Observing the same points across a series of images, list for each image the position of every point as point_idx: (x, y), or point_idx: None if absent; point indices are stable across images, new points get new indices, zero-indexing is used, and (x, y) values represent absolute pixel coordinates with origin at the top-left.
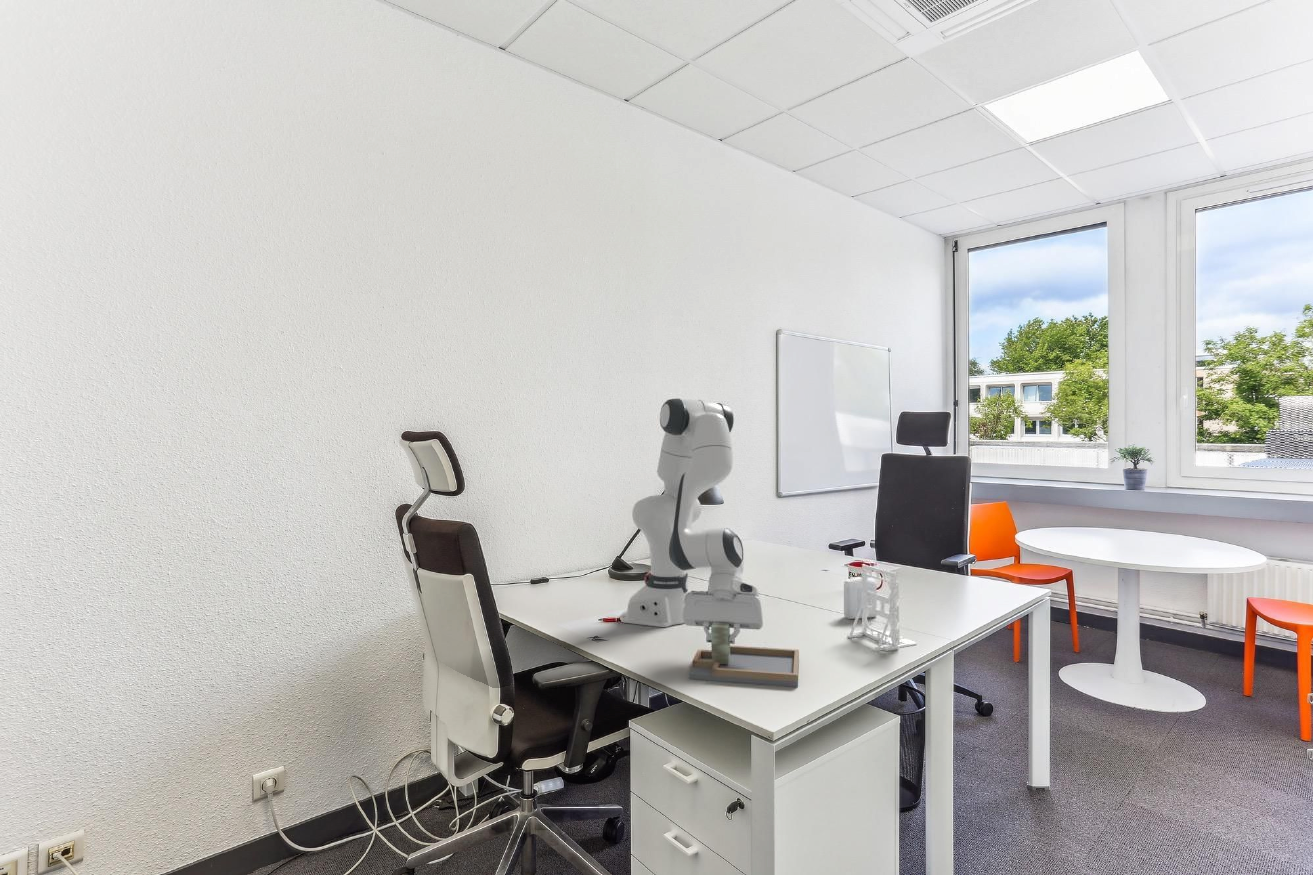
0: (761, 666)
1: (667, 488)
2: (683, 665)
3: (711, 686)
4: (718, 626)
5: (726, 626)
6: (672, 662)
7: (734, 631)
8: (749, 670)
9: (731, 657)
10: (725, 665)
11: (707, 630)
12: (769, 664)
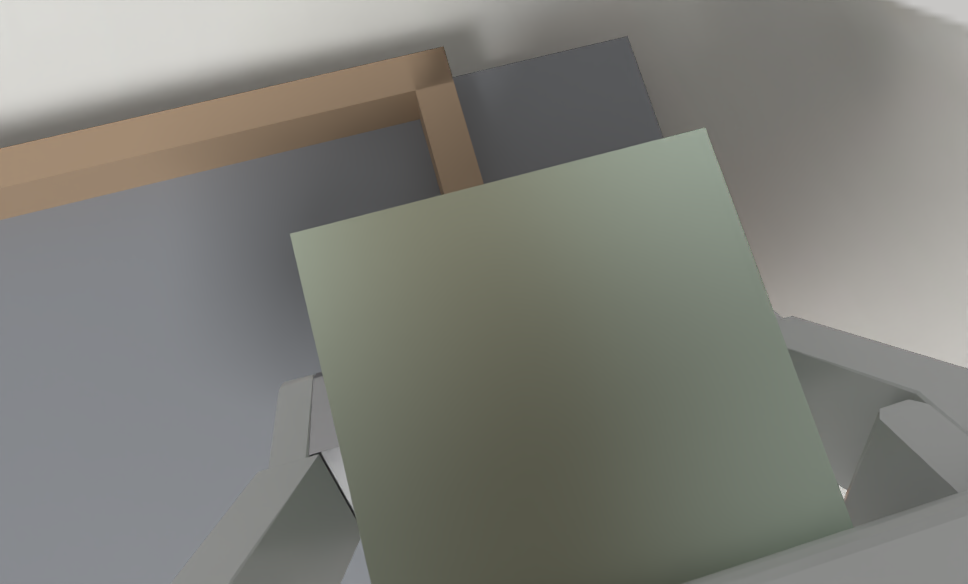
0: (102, 462)
1: None
2: (795, 285)
3: (409, 8)
4: (546, 220)
5: (351, 313)
6: (910, 306)
7: (262, 515)
8: (105, 151)
9: None
10: None
11: (806, 347)
12: (36, 554)
